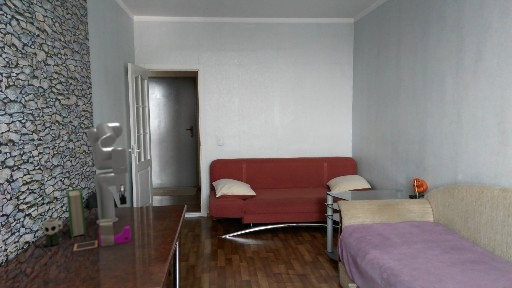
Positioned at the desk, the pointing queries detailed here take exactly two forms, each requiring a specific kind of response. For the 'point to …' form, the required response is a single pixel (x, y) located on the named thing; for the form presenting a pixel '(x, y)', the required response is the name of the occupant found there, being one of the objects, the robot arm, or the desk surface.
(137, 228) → the desk surface
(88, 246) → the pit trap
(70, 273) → the desk surface
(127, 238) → the toy block
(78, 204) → the hardback book
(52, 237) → the character mug
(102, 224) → the tunnel
